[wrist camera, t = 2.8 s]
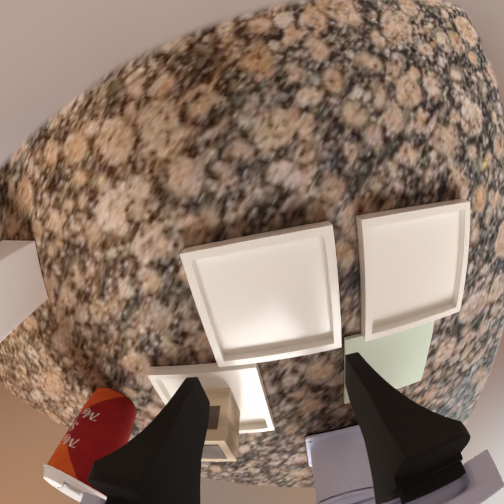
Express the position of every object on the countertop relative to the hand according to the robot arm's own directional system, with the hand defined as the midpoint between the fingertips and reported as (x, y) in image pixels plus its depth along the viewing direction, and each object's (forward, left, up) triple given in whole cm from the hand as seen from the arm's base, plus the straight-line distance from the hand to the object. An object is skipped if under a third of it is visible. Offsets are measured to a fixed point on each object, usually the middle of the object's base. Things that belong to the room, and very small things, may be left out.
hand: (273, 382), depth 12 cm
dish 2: (-10, +7, -8) cm, 15 cm away
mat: (-10, -10, -8) cm, 16 cm away
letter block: (-10, +7, -8) cm, 15 cm away
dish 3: (0, -12, -8) cm, 15 cm away
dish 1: (0, 0, -8) cm, 8 cm away
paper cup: (-12, +20, -9) cm, 25 cm away
